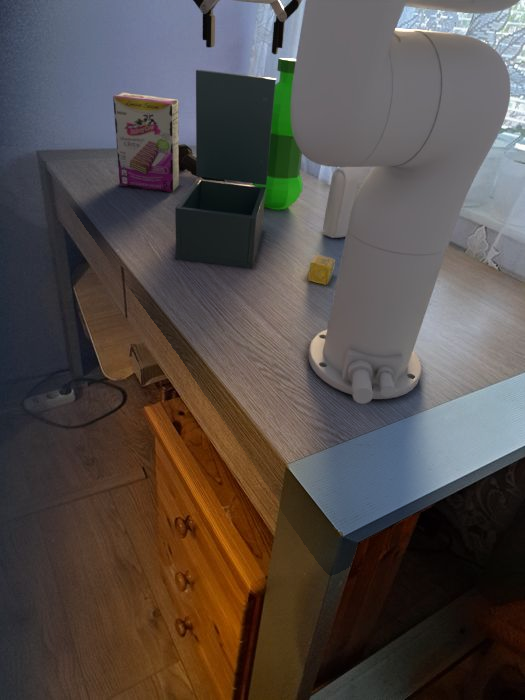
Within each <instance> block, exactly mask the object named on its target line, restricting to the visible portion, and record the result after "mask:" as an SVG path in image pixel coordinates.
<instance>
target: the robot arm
mask: <svg viewBox="0 0 525 700" xmlns="http://www.w3.org/2000/svg"><path fill="white" fill-rule="evenodd" d="M192 1H193V2H194V4H195V5H196V6H197V8H198V9H199V11H200V13H201V14H202V40H203V41H205V47H206V48H209V49H210V48H213V47H215V44H216V43H215V42H216V15H215V14H214V9H215V8H216V7H217V5H218V4H219V2H220V1H221V0H192ZM233 1H235V2H243V3H253V4H255V3H256V4H263V5H264V4H267V5H270V7H271V9H272V10H273V12H274V14H275V21H273V28H272V29H273V30H272V42H271V54H272V55H278V54H279V49H283V48H284V47H283V46H284V36H285V25H286V21H287V20H288V19H289V18H290V17H291V16H292V15H293V14H294V13H295V12H296V11H297V10H298V9H299V7H300V6H301V4H302V2H303V0H290V2H288V3H287V4H286V5H285V7H284V6H283V3H282V2H281V1H280V0H232V2H233ZM521 1H522V0H305V3H304V9H303V15H302V20H301V26H300V33H299V38H298V45H297V51H296V57H295V59H296V63H295V70H294V77H293V83H292V92H291V126H292V131H293V136H294V139H295V142H296V144H297V146H298V148H299V149H300V151H301V152H302V156H304V157H305V158H306V159H308V160H309V161H310V162H312V163H314V164H317V165H320V166H324V167H328V168H329V167H331V168H339V167H373V169H372V170H371V172H370V173H369V175H368V176H367V178H366V179H365V181H364V182H363V184H362V186H361V187H360V189H359V191H358V193H357V195H356V198H355V200H354V203H353V206H352V209H351V213H350V217H349V222H348V228H347V233H346V237H345V238H344V243H343V248H342V253H341V258H340V264H339V268H338V274H337V279H336V284H335V287H334V288H335V289H334V293H333V298H332V299H333V300H332V304H331V308H330V314H329V319H328V324H327V328H326V329H325V330H322V331H320V332H319V333H317V334H316V335H315V336H314V337H313V339H311V342H310V344H309V348H308V362H309V364H310V366H311V367H310V368H311V369H312V370H313V371H314V373H315V374H316V375H317V376H318V377H319V378H320V379H321V380H322V381H323V382H325V383H326V384H327V385H329V386H331V387H332V388H334V389H336V390H338V391H340V392H343V393H346V394H348V395H350V396H352V398H353V401H354V402H356V403H357V404H368V403H370V402H371V401H372V400H389V399H393V398H399V397H402V396H404V395H406V394H408V393H410V392H412V390H414V389H415V388H416V386H417V385H418V383H419V380H420V378H421V375H422V370H423V369H422V363H421V361H420V359H419V357H418V355H417V354H416V352H415V351H414V349H415V346H416V343H417V341H418V337H419V334H420V331H421V329H422V325H423V322H424V320H425V316H426V312H427V310H428V307H429V303H430V300H431V298H432V294H433V291H434V289H435V286H436V283H437V280H438V277H439V273H440V271H441V268H442V264H443V262H444V259H445V256H446V252H447V250H448V247H449V245H450V242H451V239H452V236H453V234H454V232H455V231H454V230H455V227H456V224H457V222H458V219H459V216H460V213H461V211H462V208H463V205H464V203H465V201H466V198H467V196H468V193H469V191H470V189H471V187H472V185H473V183H474V180H475V178H476V176H477V175H478V173H479V170H480V169H481V167H482V165H483V163H484V162H485V160H486V158H487V157H488V154H489V153H490V151H491V149H492V147H493V146H494V144H495V141H496V139H497V138H498V136H499V134H500V131H501V129H502V127H503V125H504V123H505V119H506V117H507V114H508V110H509V105H510V100H511V79H510V72H509V69H508V67H507V65H506V63H505V60H504V59H503V57H502V56H501V55H500V54H499V52H498V51H497V50H496V49H495V48H494V47H493V46H491V45H490V44H488V43H486V42H485V41H482V40H481V39H478V38H476V37H473V36H469V35H465V34H459V33H456V32H445V31H435V30H424V29H415V28H414V29H405V28H398V24H399V21H400V18H401V16H402V13H403V11H404V9H405V7H407V8H415V9H424V10H434V11H442V12H451V13H452V12H453V13H461V14H476V15H477V14H479V15H482V14H483V15H484V14H494V13H497V12H502V11H506V10H508V9H510V8H513V7H514V6H515V5H517V4H518V3H519V2H521Z"/></svg>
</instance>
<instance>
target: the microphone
mask: <svg viewBox="0 0 525 700" xmlns="http://www.w3.org/2000/svg"><path fill="white" fill-rule="evenodd" d="M178 147H179V172H180V171H187V172H190V174H191V175H192V176H194V177H197V176H196V156H195V155H194V154H193V149H192V148H190V147H189V146H188V145H187V144H186V143H182V144H178ZM200 179H203V180H211V181H219V182H226V180H220V179H212V178H204V177H200Z"/></svg>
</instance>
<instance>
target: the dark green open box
mask: <svg viewBox="0 0 525 700" xmlns="http://www.w3.org/2000/svg"><path fill="white" fill-rule="evenodd" d="M265 195H266V187H261V186H253V185H252V184H244V183H236V182H235V183H234V182H228V181H225V182H219V181H211V180H204V179H203V178H196V179H195V181H194V182H193V184H192V185H191V186H190V188H189V189H188V190H187V192H186V193H185V195H184V196H183V197H182V198H181V200H179V202H178V204H176V207H175V209H174V217H175V218H174V221H175V224H174V225H175V260H182V261H183V260H185V261H191V262H199V263H208V264H216V265H222V266H223V265H224V266H232V267H239V268H246V269H253V267H254V263H255V259H256V255H257V252H258V248H259V245H260V242H261V237H262V233H263V226H264V215H265V206H264V205H265Z"/></svg>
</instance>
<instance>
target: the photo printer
mask: <svg viewBox="0 0 525 700" xmlns="http://www.w3.org/2000/svg"><path fill="white" fill-rule="evenodd" d="M372 169H373V167H337V168H336V169H335V170H334V172H333V173H332V176H331V179H330V185H329V192H328V197H327V202H326V208H325V213H324V218H323V225H322V231H323V234H324V235H325V236H327V237H329V238H332V239H335V238H336V239H337V238H344V237H345V238H346V233H347V228H348V222H349V217H350V213H351V209H352V206H353V203H354V200H355V198H356V195H357V193H358V191H359V189H360V187H361V186H362V184H363V182H364V181H365V179H366V178H367V176H368V175H369V173H370V172H371V170H372Z"/></svg>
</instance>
